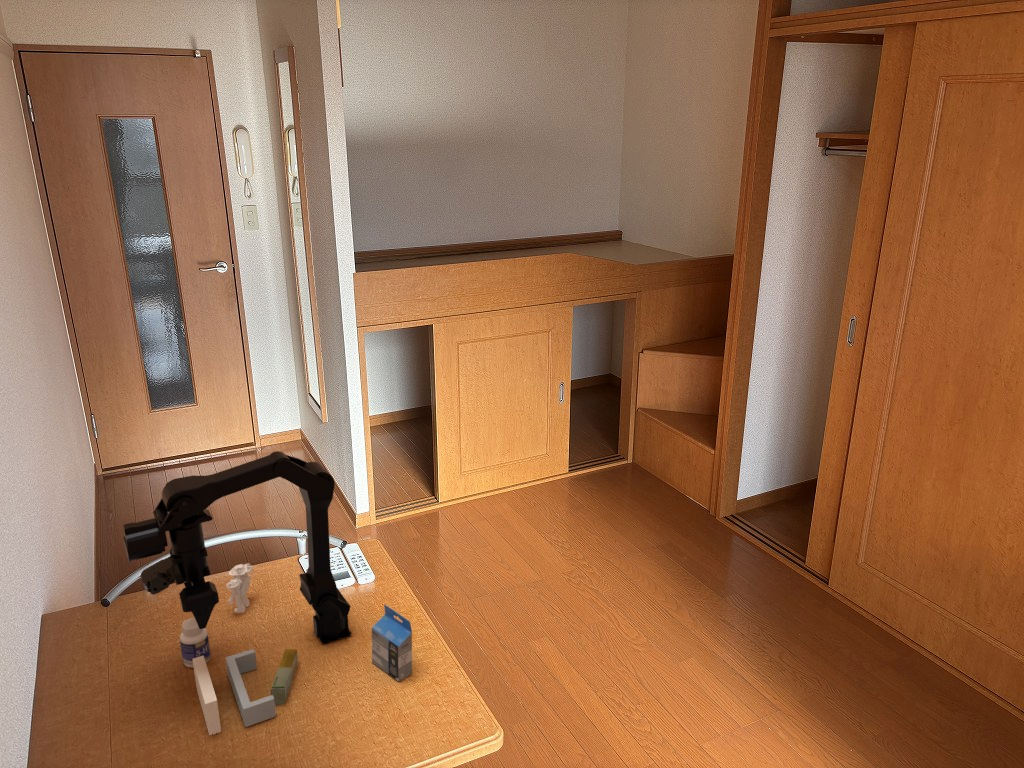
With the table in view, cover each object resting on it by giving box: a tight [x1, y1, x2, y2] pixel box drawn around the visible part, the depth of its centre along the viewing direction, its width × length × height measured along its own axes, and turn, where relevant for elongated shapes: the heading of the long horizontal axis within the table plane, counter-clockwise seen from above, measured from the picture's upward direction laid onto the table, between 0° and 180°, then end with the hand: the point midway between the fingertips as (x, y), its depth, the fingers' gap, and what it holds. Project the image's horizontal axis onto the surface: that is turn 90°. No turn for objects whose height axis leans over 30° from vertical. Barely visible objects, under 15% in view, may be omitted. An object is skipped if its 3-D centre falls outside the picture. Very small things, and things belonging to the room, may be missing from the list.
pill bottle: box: [179, 617, 211, 669], centre depth 153 cm, size 5×5×9 cm
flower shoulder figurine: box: [225, 562, 254, 614], centre depth 170 cm, size 9×4×12 cm, turn 173°
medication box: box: [270, 648, 299, 706], centre depth 148 cm, size 12×3×4 cm, turn 3°
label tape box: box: [371, 604, 413, 682], centre depth 151 cm, size 9×4×12 cm, turn 47°
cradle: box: [225, 648, 277, 728], centre depth 144 cm, size 6×16×4 cm, turn 31°
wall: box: [193, 656, 222, 737], centre depth 140 cm, size 2×14×7 cm, turn 30°
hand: (198, 615), depth 146 cm, fingers open, 9 cm apart
